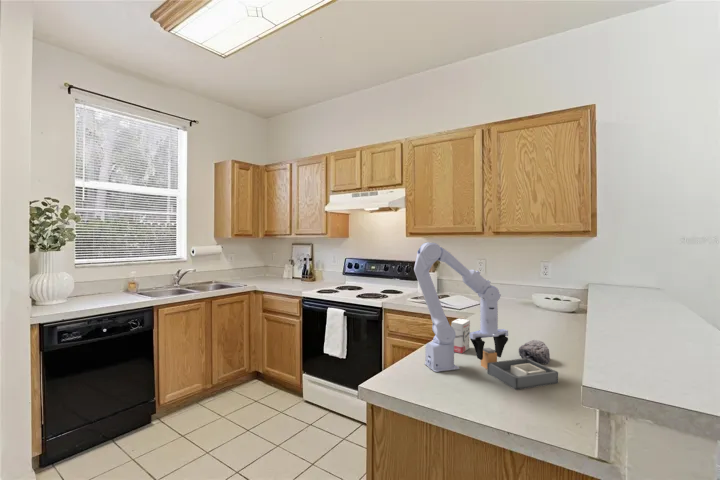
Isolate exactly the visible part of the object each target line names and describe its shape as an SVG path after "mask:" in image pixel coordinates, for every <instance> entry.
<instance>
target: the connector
mask: <svg viewBox="0 0 720 480" xmlns="http://www.w3.org/2000/svg"><path fill="white" fill-rule="evenodd" d="M490 362H498V357H497V353H496V352H495V349H493V348H491V347H484V348H483V359H482V360H480V366H481V367H483V368H484V369H486V370H488V363H490Z"/></svg>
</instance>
